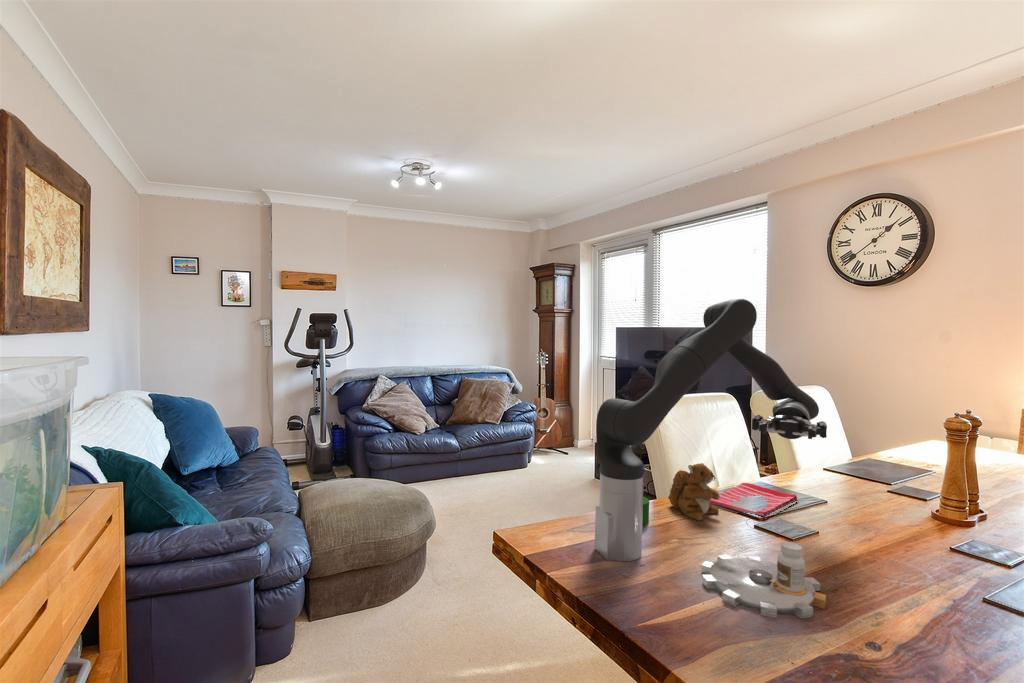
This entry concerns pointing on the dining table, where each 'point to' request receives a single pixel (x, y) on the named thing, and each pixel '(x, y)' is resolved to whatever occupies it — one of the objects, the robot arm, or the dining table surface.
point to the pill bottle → (790, 567)
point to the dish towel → (747, 489)
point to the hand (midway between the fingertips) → (786, 431)
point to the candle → (645, 511)
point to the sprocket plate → (759, 587)
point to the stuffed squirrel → (694, 492)
